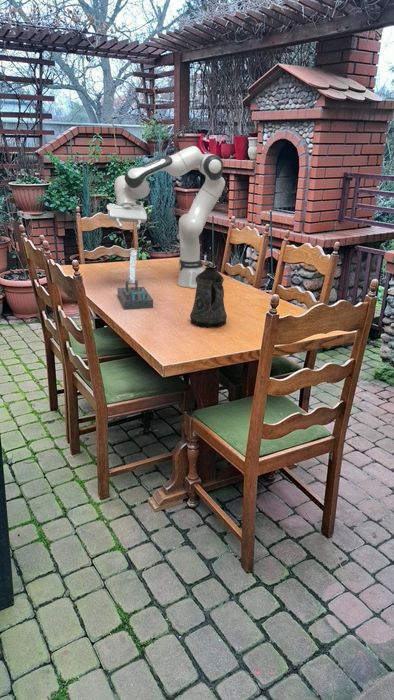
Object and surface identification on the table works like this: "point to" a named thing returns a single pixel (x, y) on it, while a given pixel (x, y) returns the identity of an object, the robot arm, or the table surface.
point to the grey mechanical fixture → (134, 297)
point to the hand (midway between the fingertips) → (129, 227)
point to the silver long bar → (132, 266)
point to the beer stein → (209, 300)
